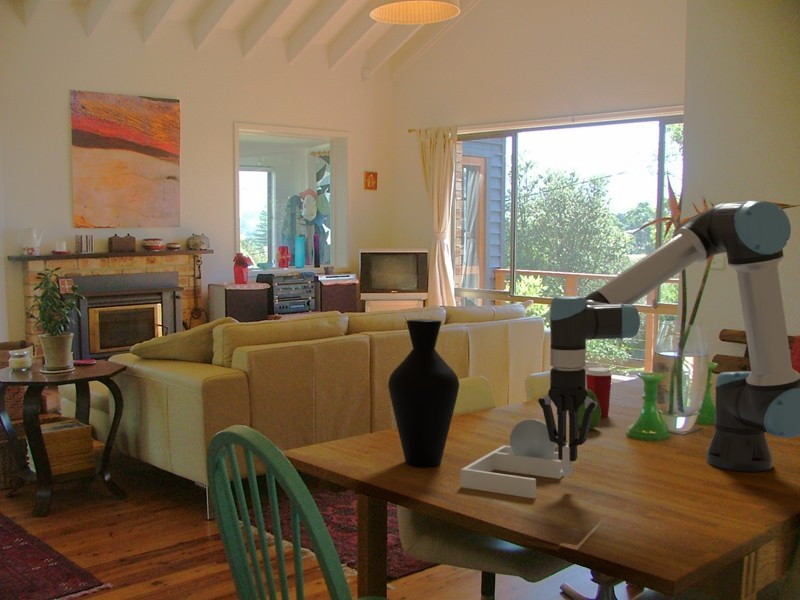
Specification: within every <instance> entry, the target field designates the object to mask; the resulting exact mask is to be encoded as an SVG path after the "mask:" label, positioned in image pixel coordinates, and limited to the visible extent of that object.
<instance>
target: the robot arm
mask: <svg viewBox="0 0 800 600" xmlns="http://www.w3.org/2000/svg"><path fill="white" fill-rule="evenodd" d="M791 227H792V226H791V222H790V219H789V217H788V214H787V213H786V212H785V211H784V210H783V208H782V207H780V206H779V205H778V204H776V203H774V202H771V201H767V200H759V199H754V200H744V201H743V200H742V201H735V202H734V201H733V202H722V203H719V204H715V205H714V206H711V207H710V208H708V209H707V210H705V211H704V212H702V213H700V214H699V215H697V216H696V217H694V218H693V219H691V220H690V221H688V222H687V223H686V224H684V225H683V226H681V227H680V228H678V229H677V231H676V235H675V236H674V237H673V238H671V239H669V240H668V241H667V242H665V243H664V244H662V245H661V246H659V247H657V248H656V249H655V250H653V251H652V252H650V253H649V254H647V255H646V256H644V257H643V258H641V259H640V260H638V261H637V262H635V263H634V264H632V265H631V266H630V267H628V268H627V269H625V270H624V271H622V272H621V273H619V274H618V275H617V276H615V277H614V278H612V279H611V280H608V282H606V283H605V284H603V285H602V286H600V287H599V288H597V289H596V290H594V291H592V292H591V293H590V294H588V295H587V296H585V297H584V296H579V295H577V296H576V295H559V296H554V297H553V298H552V300H551V301H550V302H551V303H550V309H549V310H550V311H549V321H550V322H549V323H550V325H549V327H550V328H549V329H550V330H549V331H550V348H549V349H550V351H549V352H550V354H549V355H550V356H549V357H550V358H549V361H550V362H549V363H550V366H551V369H550V370H549V371H550V374H549V375H550V376H549V378H550V379H549V383H550V384H549V386H550V387H549V389H548V392H547V394H546V395H544V396H542V397H540V398H538V404H539V405H540V407H541V409H542V412H543V415H544V421H545V422H544V423H545V424H546V426H547V430H548V435H549V439H550V441H551V442H554V443H556V446H557V452H558V458H559V460H562V476H563V477H565V478H567V477H568V478H570V477H571V476H572V475H573V474H574V467H573V466H574V462H575V461H577V459H578V446H582V445H584V444H585V443H586V442H587V439H588V438H587V437H588V434H589V431H590V430H589V427H590V423H591V419H592V415H593V411H594V410H595V408H596V407H597V405H598V402H597V401H593V400H592V399H590V398H589V397H588V393H587V391H586V371H585V369H583V367H585V366H586V362H587V357H586V356H587V355H586V354H587V352H586V351H587V350H586V348H587V341H588V340H590V341H591V340H592V341H593V340H612V339H613V340H616V339H617V340H618V339H619V340H623V339H629V338H634V337H635V336H637V335H638V332H639V331H640V326H641V316H640V314H639V313H640V312H639V310H638V309H637V307H636V306H635V305H634V304H635V303H637V302H638V301H640V300H641V299H643V298H644V297H646V296H647V295H649V294H650V293H651V292H653V291H654V290H656V289H657V288H658V287H660V286H663V284H664V283H666V282H668V281H669V280H670V279H672V278H673V277H675V276H676V275H678V274H679V273H680V272H682V271H684V270H685V269H687V268H688V267H689V266H691V265H692V264H695V262H697V263H703V262H704V261H707V260H708V259H709V258H711V257H712V256H715V255H719V254H724V253H726V258H727V264H728V266H730V267H731V268H732V269H733V270H735V272H736V275H737V283H738V290H739V296H740V303H741V308H742V317H743V322H744V323H743V325H744V327H745V328H744V329H745V336H746V337H745V338H746V344H747V350H748V357H749V363H750V364H749V365H750V371H723V372H720V373H719V374H717V376H716V379H715V386H714V389H715V401H714V403H715V406H714V409H715V410H714V432H713V434H712V438H711V440H710V443H709V444H708V448H707V449H706V457H705V459H706V463H707V464H708V465H711V466H713V467H716V468H718V469H723V470H728V471H733V472H734V471H736V472H744V473H745V472H746V473H748V472H749V473H751V472H753V473H754V472H755V473H756V472H757V473H758V472H765V471H770V470H772V468H773V456H772V451H771V449H770V446H769V443H768V440H767V435H766V433H767V434H769V435H771V436H773V437H780V438H784V439H793V438H796V437H799V436H800V373H799V372H798V371H797V370H795V369H794V368H793V364H792V360H791V351H790V344H789V337H788V331H787V324H786V323H787V321H786V317H785V316H786V315H785V309H784V302H783V301H784V300H783V296H782V287H781V282H780V274H779V269H778V266H779V263H780V262H781V261H782V260H783V259H784V251H783V250H784V248H785V247H786V246H787V244H788V241H789V240H790V238H791V234H792V228H791ZM584 401H585V408H586V410H585V413H584V417H583V421H582V425H581V429H580V428H578V413H579V408H580V407H581V405H582V404H583V403H584ZM552 403H553V405H554V406H555V408H556V415H557V424H556V421H555V417H554V413H553V408H552V407H553V406H552V405H551V404H552ZM567 413H568V417H569V418H568V427H569V428H568V440H567ZM556 425H557V426H556ZM557 429H558V433H557ZM567 442H568V443H567Z"/></svg>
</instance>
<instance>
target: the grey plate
mask: <svg viewBox="0 0 800 600" xmlns="http://www.w3.org/2000/svg"><path fill="white" fill-rule="evenodd" d="M512 428H513V429H512V431H511V433H510V435H509V443H510V445H509V446H511V449H512V451H513V453H514V454H515V455H522V456H530V457H537V458H545V459H550V458H551V457H552V456H553V454H554V452H556V447H557V444H556V443H554V442H551V441H550V439H549V435H548V430H547V426H546V422H544V421H542V420H540V419H536V418H527V419H524V420H522V421H520V422H518V423H517V424H516V425H515V426H514V427H512Z"/></svg>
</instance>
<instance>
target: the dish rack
mask: <svg viewBox="0 0 800 600" xmlns="http://www.w3.org/2000/svg"><path fill="white" fill-rule="evenodd" d="M495 470H497V471H501V472H502V471H503V472H509V473H515V474H516V473H517V474H522V475H529V474H530V475H532V476H535V477H536V476H537V477H545V478H552V479H558V480H560V479H562V477H564V476H562V460H559V458H558V451H555V452H554V454H553V456H552V457H551V458H550V459H545V458H537V457H530V456H522V455H515V454H514V453H513V451H512V449H511V445H502V446H500V447H498V448H496V449H494V450H493V451H491V452H489V453H487V454H486V455H484V456H482V457H480V458H478V459H477V460H475V461H473V462H471V463H470V464H468V465H466V466H465V467H462V468H461V469H460V488H463V489H469V490H477V491H483V492H490V493H497V494H503V495H508V496H515V497H521V498H522V497H523V498H528V499H536V498H537V479H536V478H533V477H525V476H520V475H511V474H507V473H506V474H504V473H499V472H498V473H497V472H493V471H495Z"/></svg>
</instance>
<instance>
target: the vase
mask: <svg viewBox="0 0 800 600" xmlns="http://www.w3.org/2000/svg"><path fill="white" fill-rule="evenodd" d="M406 325H407V329H408V333H409V338H410V342H411V346H412V349H411V350H410V352H409V353H408V354H407V356H406V357H405V358H404V359H403V360H402V361H401V363H399V365H398V366H396V368H394V370H393V371H392V373H391V374H390V376H389V378H388V384H387V385H388V392H389V396H390V401H391V406H392V410H393V414H394V415H393V416H394V419H395V422H396V427H397V432H398V434H399V439H400V444H401V448H402V451H403V452H402V453H403V457H404V460H405V463H406V465H408V466H409V467H412V468H419V469H431V468H435V467H437V468H438V467H439V466H441V464H442V460H443V456H444V451H445V448H446V444H447V439H448V436H449V433H450V432H449V431H450V428H451V424H452V420H453V416H454V410H455V407H456V403H457V399H458V395H459V389H460V382H459V378H458V375H457V374H456V372H455V371H454V369H452V367H451V366H449V364H448V363H447V362H446V361H445V360H444V359H443V357H442V356H441V355H440V354H439V353H438V351H437V350H436V345H437V341H438V338H439V333H440V331H441V330H440V329H441V326H442V320H439V319H425V318H424V319H423V318H422V319H420V318H419V319H408V320H406Z"/></svg>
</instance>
